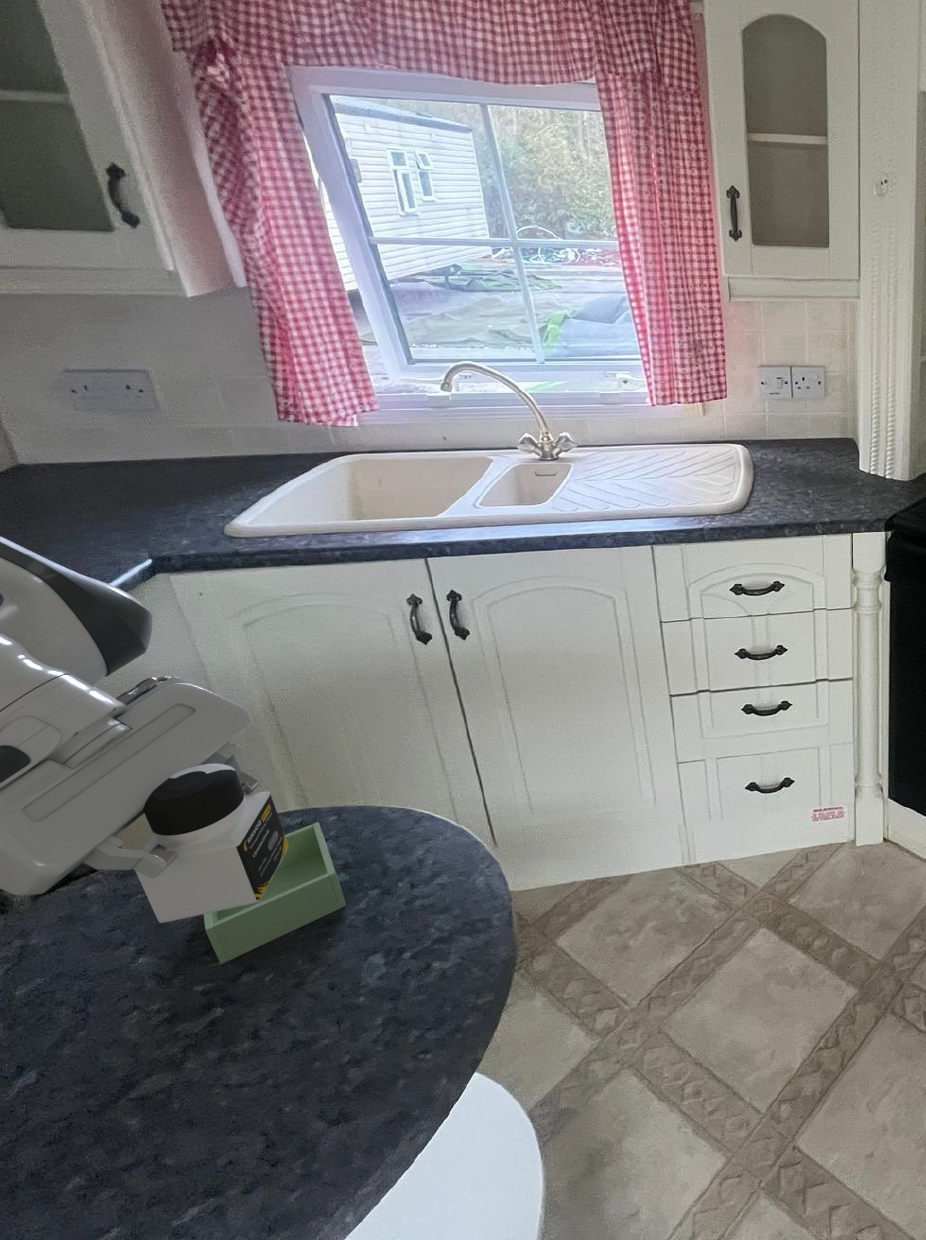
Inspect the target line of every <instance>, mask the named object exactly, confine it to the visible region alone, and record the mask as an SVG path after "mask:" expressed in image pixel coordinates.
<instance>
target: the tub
mask: <svg viewBox="0 0 926 1240" xmlns="http://www.w3.org/2000/svg"><path fill="white" fill-rule="evenodd" d="M322 830H323V829H322V827H321V825H320V821H316V822H315V823H312V824H310V825H306V826H303V827H302V828H300V829H297V830H294V831H291V832H289V833H287V834H285V836H286V839H287V842H288V845H289V846H288V849H287V851H286V853H285V855H284V857H283V859H282V861H281V863H280V864H279V866H278V868H277V870H276V872H275V874H274V876H273V878H272V879H271V881H270V883H269V885H268V887H267V889H266V891H265V893H264V894H263V896H262V898H261V900H260V901H259V902H258V903H254V904H250V905H245V906H240V907H235V908H231V909H226V910H221V911H217V912H212V913H207V914H203V922H204V923H203V924H204V931H205V932H206V935H207V937H208V940H209V941H210V944H211V946H212V948H213V950H214V952H215V955H216V957H217V959H218V961H219V964H220V965H223V964H225V963H227V962H229V961H231V960H233V959H236V958H238V957H240V956H242V955H244V954H246V953H249V952H250V951H253V950H254V949H257V948H259V947H261V946H263V945H266V944H267V943H270V942H272V941H274V940H276V939H278V938H280V937H283V936H285V935H287V934H289V933H291V932H293V931H295V930H298V929H300V928H302V927H304V926H306V925H308V924H310V923H312V922H315V921H317V920H319V919H322V918H323V917H325V916H327V915H329V914H332V913H334V912H336V911H338V910H340V909H342V908H345V907H346V906H347V903H346V900H345V899H346V898H345V897H344V893H343V890H342V887H341V883H340V881H339V878H338V874H337V872H336V869H335V865H334V862H333V859H332V857H331V852H330V850H329V847H328V845H327V841H326V839H325V836H324V833H323V831H322Z"/></svg>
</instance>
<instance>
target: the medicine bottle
mask: <svg viewBox="0 0 926 1240" xmlns="http://www.w3.org/2000/svg"><path fill="white" fill-rule="evenodd" d="M143 811H144V814H143V815H145V818H146V820H147V823H148V825H149V828H150V829H151V832H152V835H153V836H152V837H151V838H150V839H149V841H148V842H147V844H146V845H145V846H144V848H143V849H142V850H146V851H149V852H150V851H151V850H152V849H154V848H155V847H156V846H157V845H158V844H160V845H162V846H164V847H166V848H167V850H168V851H173V852H175V853H176V854H177V855H178V856H177V858H176V859H175V860H174V861H173V862H172V863H171V864H170V865H169V866H168V867H167V868H166V869H165V870H164V871H163V872H162V873H160V874H159V875H158V876H157V877H156V878H149V877H147V876H145V875H143V874H141V873H139V872H137V871H135V873H136V875H137V878H138V881H139V882H140V885H141V886H142V889H143V891H144V893H145V896H146V897H147V900H148V902H149V904H150V906H151V908H152V912H153V913H154V915H155V918H156V921H158V923H160V924H164V923H165V924H166V923H169V922H174V921H179V920H183V919H188V918H193V917H197V916H202V915H203V914H207V913H212V912H217V911H221V910H226V909H231V908H235V907H240V906H245V905H250V904H254V903H258V902H259V901H260V900H261V898H262V896H263V894H264V893H265V891H266V889H267V887H268V885H269V883H270V881H271V879H272V878H273V876H274V874H275V872H276V870H277V868H278V866H279V864H280V863H281V861H282V859H283V857H284V855H285V853H286V851H287V849H288V846H289V845H288V842H287V839H286V836H285V835H286V834H285V831H284V828H283V825H282V822H281V820H280V817H279V814H278V811H277V808H276V806H275V803H274V800H273V797H272V794H271V793H270V792H269V791H260V792H255V793H250V794H248V795H244V792H243V789H242V787H241V784H240V781H239V778H238V776H237V773H236V771H235V769H234V768H233V767H231V766H228V765H224V764H205V765H199V766H195V767H191V768H188V769H185V770H182V771H180V772H178V773H176V774H174V775H173V776H171V777H170V778H168V779H167V780H166V781H164V782H163V783H162V784H161V785H159V786H158V787H157V788H156V789H155V790H154V791H153V792H152V793H151V794H150V796H149V797H148V799H147V801H146V802H145V805H144V808H143ZM149 852H148V853H149ZM203 916H204V915H203Z"/></svg>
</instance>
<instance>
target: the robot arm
mask: <svg viewBox="0 0 926 1240" xmlns="http://www.w3.org/2000/svg"><path fill="white" fill-rule="evenodd" d="M0 595H1V596H2V597H3V602H2V603H1V605H0V890H2V891H4V892H7V893H9V894H11V895H13V896H34V895H42V894H44V893H46V892H48V891H49V890H50V889H51V888H53V887H54V886H55V885H56V884H57V883H59V882H60V881H61V880H63V879H64V878H65V877H66V876H67V875H69V874H70V873H71V872H72V871H74V870H75V869H76V868H78V867H80V865H81V864H85V865H87V866H88V867H91V868H93V869H95V870H97V871H131V870H133V871H135V872H136V871H137V872H139V873H141V874H143V875H145V876H147V877H149V878H156V877H157V876H158V875H159V874H160V873H162V872H163V871H164V870H165V869H166V868H167V867H168V866H169V865H170V864H171V863H172V862H173V861H174V860H175V859H176V858H177V856H178V855H177V854H176V853H175V852H173V851H168V850H167V848H166V847H164V846H162V845H160V844H158V845H157V846H156V847H155V848H154V849H152V850H151V851H150V852H149V851H146V850H143V849H134V848H133V849H132V848H122V847H123V846H124V845H125V840H122V839H120V838H119V837H116V836H118V835H120V834H121V833H122V832H123V831H125V830H126V829H127V828H128V827H129V826H131V825H132V824H133V823H135V822H136V821H137V820H138V819H140V817H142V816H143V815H145V814H144V811H143V808H144V805H145V802H146V801H147V799H148V797H149V796H150V794H151V793H152V792H153V791H154V790H155V789H156V788H157V787H158V786H159V785H161V784H162V783H163V782H164V781H166V780H167V779H168V778H170V777H171V776H173V775H174V774H176V773H178V772H180V771H182V770H185V769H188V768H191V767H195V766H199V765H205V764H224V765H228V766H231V767H233V768H234V769H235V771H236V773H237V776H238V778H239V781H240V784H241V787H242V789H243V792H244V795H248V794H252V792H254V791H255V790H256V789H257V788H258V787H260V785H261V784H262V783H263V782H264V778H263V777H262V776H261V775H260V774H258V773H257V772H254V771H252V770H251V769H249V766H248V763H247V761H246V758H245V757H244V755H243V752H242V751H241V749H240V748H238V747H236V746H235V745H233V743H235V742H236V741H237V740H238V739H239V738H241V737H242V735H243V734H244V733H245V732H246V731H247V730H248V729H249V728H250V726H252V724H253V722H254V721H253V718H252V714H251V712H250V711H249V710H248V709H247V708H245V707H243V706H242V705H240V704H238V703H236V702H234V701H232V700H230V699H228V698H226V697H224V696H222V695H220V694H218V693H215V692H213V691H210V690H208V689H206V688H203V687H201V686H198V685H195V684H192V683H190V682H189V681H187V680H186V679H184V678H182V677H180V676H175V675H174V676H159V677H149V678H145V679H143V680H142V681H139V683H137V684H135V686H134V687H133V688H131V689H129V690H127V691H124V692H123V693H121V694H119V695H117V696H116V697H114V696H111V695H110V694H108V693H106V692H105V691H103V690H101V689H99V688H97V687H95V686H94V685H95V684H96V683H97V682H99V681H101V680H102V679H103V678H104V677H109V676H110V675H111V674H113V673H115V672H117V671H118V670H120V669H121V668H123V667H125V666H126V665H128V664H130V663H131V662H133V661H134V660H136V659H137V658H139V657H140V656H142V655H143V654H146V652H147V650H148V647H149V645H150V641H151V636H152V631H153V614H152V613H151V611H149V610H148V609H147V608H146V607H145V605H144V604H143V603H142V602H141V601H139V600H138V599H137V598H136V597H134V596H133V595H131V594H130V593H128V592H126V591H125V590H122V589H121V588H119V587H117V586H114V585H112V584H109V583H108V582H104V581H101V580H99V579H96V578H94V577H90V576H87V575H83V574H81V573H79V572H77V571H74V570H72V569H70V568H67V567H65V566H63V565H61V564H59V563H57V562H55V561H52V560H50V559H48V558H46V557H44V556H42V555H39V554H38V553H36V552H34V551H31V550H30V549H28V548H25V547H24V546H22V545H19V544H18V543H15V542H14V541H11V540H9V539H7V538H5V537H3V536H1V535H0ZM160 682H161V683H160ZM148 852H149V853H148Z"/></svg>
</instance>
